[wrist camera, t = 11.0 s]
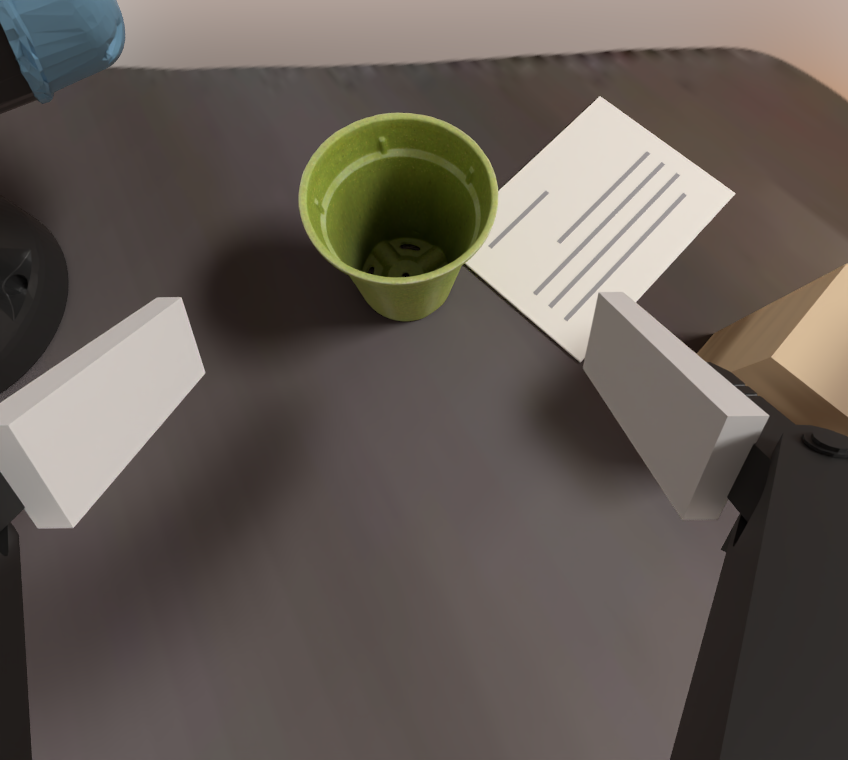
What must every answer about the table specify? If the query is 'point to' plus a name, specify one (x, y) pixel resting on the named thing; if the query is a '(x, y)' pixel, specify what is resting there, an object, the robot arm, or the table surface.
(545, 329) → the letter
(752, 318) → the oak block
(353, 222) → the plant pot
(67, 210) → the table surface
